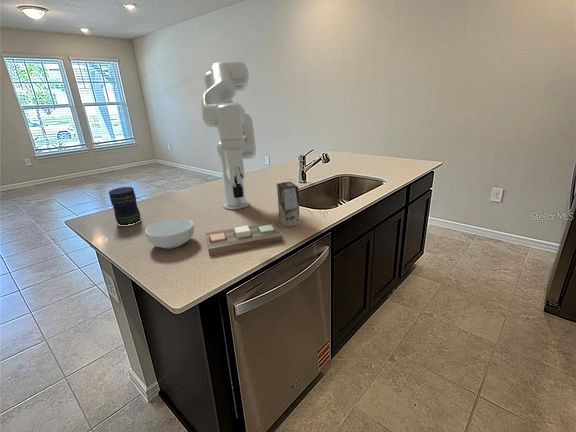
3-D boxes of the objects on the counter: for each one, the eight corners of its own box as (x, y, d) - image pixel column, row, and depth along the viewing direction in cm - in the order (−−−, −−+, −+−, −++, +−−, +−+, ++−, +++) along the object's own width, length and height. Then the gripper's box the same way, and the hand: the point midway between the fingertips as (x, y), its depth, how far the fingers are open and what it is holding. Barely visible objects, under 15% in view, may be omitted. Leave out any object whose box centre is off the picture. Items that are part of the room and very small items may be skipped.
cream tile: (235, 235, 116) (234, 227, 115) (248, 232, 118) (247, 225, 117) (237, 240, 112) (236, 232, 111) (250, 238, 113) (250, 230, 112)
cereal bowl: (205, 241, 116) (202, 224, 114) (163, 259, 105) (159, 240, 102) (181, 230, 127) (178, 214, 124) (141, 245, 116) (136, 228, 113)
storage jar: (146, 220, 140) (138, 188, 134) (126, 228, 132) (117, 195, 126) (132, 216, 145) (124, 186, 139) (112, 224, 137) (103, 192, 131)
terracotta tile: (211, 242, 115) (209, 235, 113) (224, 240, 116) (223, 232, 115) (212, 248, 110) (211, 240, 109) (226, 245, 111) (225, 238, 110)
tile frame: (206, 238, 118) (205, 232, 117) (271, 227, 125) (271, 221, 124) (209, 255, 106) (208, 249, 105) (282, 241, 113) (281, 235, 112)
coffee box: (300, 224, 126) (299, 186, 120) (285, 227, 124) (283, 189, 118) (292, 217, 134) (290, 181, 128) (278, 219, 132) (275, 183, 126)
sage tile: (258, 233, 119) (258, 226, 118) (271, 231, 121) (270, 224, 120) (261, 239, 115) (261, 231, 114) (274, 236, 116) (274, 229, 115)
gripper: (218, 142, 108) (225, 192, 115) (224, 148, 95) (231, 205, 102) (239, 140, 110) (245, 189, 117) (248, 145, 97) (253, 201, 104)
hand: (238, 196), depth 109 cm, fingers closed
